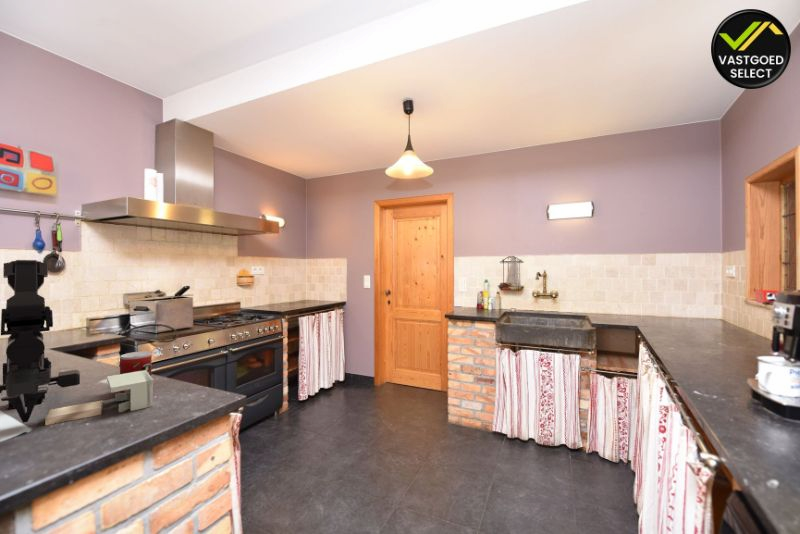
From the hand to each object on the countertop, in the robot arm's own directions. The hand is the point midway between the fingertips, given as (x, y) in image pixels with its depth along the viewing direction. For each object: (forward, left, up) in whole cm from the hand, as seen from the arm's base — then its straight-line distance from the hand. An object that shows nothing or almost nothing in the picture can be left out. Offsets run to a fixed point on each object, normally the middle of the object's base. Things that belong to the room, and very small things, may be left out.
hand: (25, 421), depth 81 cm
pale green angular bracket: (+20, 0, -1) cm, 20 cm away
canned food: (+22, +12, -1) cm, 25 cm away
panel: (+9, 0, -2) cm, 9 cm away
